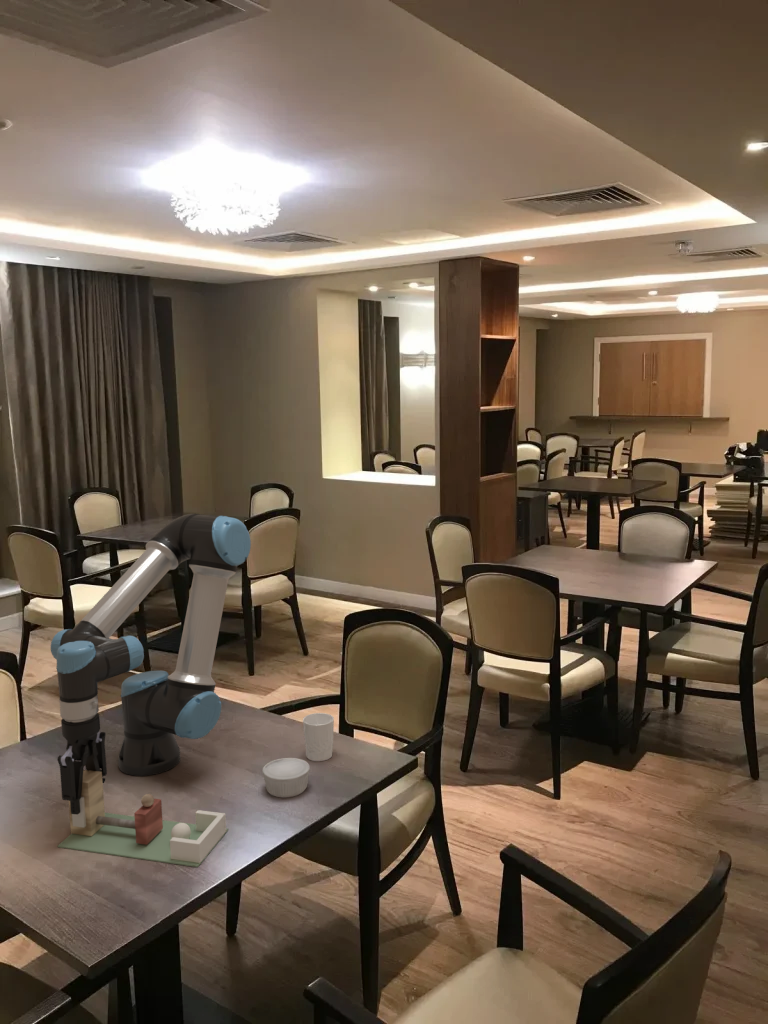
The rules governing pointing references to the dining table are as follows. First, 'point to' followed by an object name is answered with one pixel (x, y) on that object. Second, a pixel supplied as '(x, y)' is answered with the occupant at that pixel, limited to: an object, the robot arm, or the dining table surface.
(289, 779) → the ramekin
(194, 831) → the pitch
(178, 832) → the ball
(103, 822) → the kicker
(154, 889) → the dining table surface
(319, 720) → the white cup
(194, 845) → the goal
